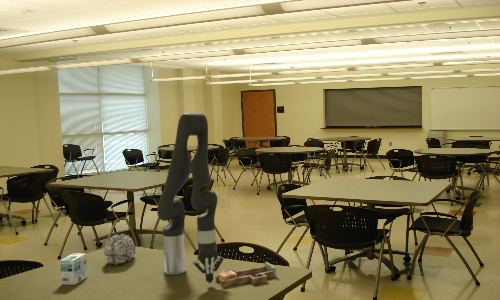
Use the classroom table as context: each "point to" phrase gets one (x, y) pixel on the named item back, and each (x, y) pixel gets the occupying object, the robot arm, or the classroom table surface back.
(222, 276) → the block
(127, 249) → the educational model
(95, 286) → the classroom table surface
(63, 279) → the light bulb box
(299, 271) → the classroom table surface
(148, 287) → the classroom table surface
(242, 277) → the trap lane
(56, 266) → the classroom table surface
